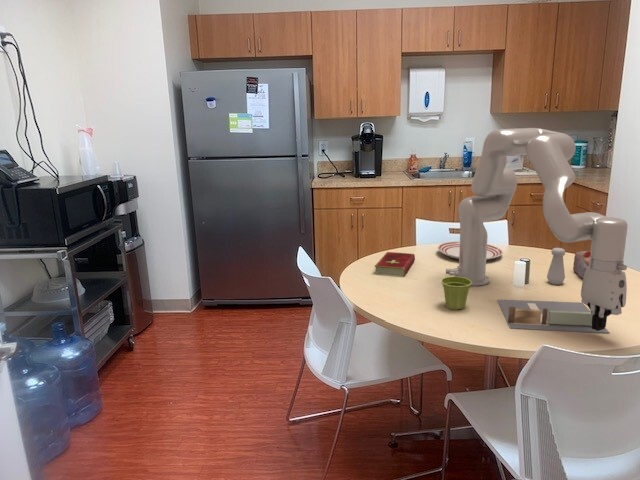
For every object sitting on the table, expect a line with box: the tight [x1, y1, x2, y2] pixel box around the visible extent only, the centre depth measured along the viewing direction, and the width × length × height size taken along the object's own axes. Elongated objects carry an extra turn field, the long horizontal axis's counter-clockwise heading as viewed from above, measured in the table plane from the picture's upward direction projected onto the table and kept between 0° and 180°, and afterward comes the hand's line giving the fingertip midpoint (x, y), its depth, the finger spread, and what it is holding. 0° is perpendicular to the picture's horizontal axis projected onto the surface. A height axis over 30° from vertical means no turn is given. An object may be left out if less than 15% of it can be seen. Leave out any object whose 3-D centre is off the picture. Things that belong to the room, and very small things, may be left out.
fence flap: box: [548, 311, 593, 326], centre depth 135 cm, size 14×1×4 cm, turn 79°
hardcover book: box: [374, 251, 416, 278], centre depth 192 cm, size 12×21×4 cm, turn 158°
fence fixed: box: [508, 307, 548, 324], centre depth 137 cm, size 10×2×5 cm, turn 79°
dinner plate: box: [437, 240, 504, 261], centre depth 206 cm, size 27×27×3 cm
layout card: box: [496, 298, 610, 334], centre depth 143 cm, size 26×22×1 cm
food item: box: [572, 250, 591, 279], centre depth 174 cm, size 14×8×10 cm, turn 174°
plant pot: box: [440, 275, 472, 311], centre depth 151 cm, size 9×9×9 cm
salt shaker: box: [546, 247, 566, 286], centre depth 168 cm, size 6×6×13 cm
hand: (598, 328), depth 128 cm, fingers closed
